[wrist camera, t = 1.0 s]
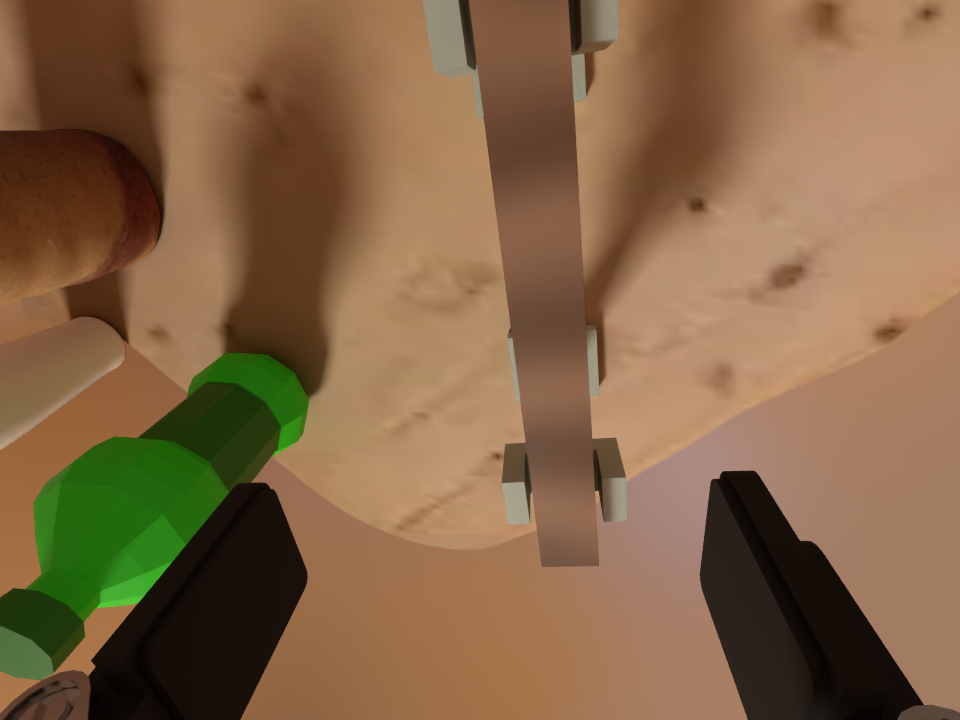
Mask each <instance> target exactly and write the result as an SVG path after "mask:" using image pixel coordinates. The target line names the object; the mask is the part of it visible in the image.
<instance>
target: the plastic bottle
mask: <svg viewBox="0 0 960 720" xmlns="http://www.w3.org/2000/svg"><path fill="white" fill-rule="evenodd" d="M308 403H309V399H308V397H307V395H306V393H305V391H304V390H303V388H302V386H301V384H300V382H299V380H298V378H297V376H296V375H295V373H294V372H293V371H292V370H290V369H289V368H287V367H286V366H284V365H283V364H281V363H279V362H278V361H276V360H275V359H273V358H272V357H270V356H268V355H266V354H252V353H228V354H224V355H222V356H221V357H220V358H218V359H217V360H216V361H215V362H213V363H212V364H211V365H209V366H208V367H207V368H205V369H204V370H203V371H201V372H200V373H199V374H198V375H196V376H195V377H194V378H193V379H192V382H191V384H190V386H189V390H188V396H187V398H186V399H185V400H184V401H182V402H181V403H180V404H179V405H177V406H176V407H175V408H174V409H173V410H171V411H170V412H169V413H168V414H167V415H165V416H164V417H163V418H161V419H160V420H159V421H158V422H156V423H155V424H154V425H153V426H151V427H150V428H149V429H148V430H147V431H145V432H144V433H143V434H142V435H140V436H139V437H138V438H128V437H113V438H111V439H108V440H106V441H104V442H102V443H100V444H98V445H96V446H94V447H92V448H91V449H90V450H88V451H87V452H86V453H84V454H83V455H82V456H80V457H79V458H78V459H76V460H75V461H74V462H72V463H71V464H70V465H68V466H67V467H66V468H65V469H63V470H62V471H61V472H59V473H58V474H57V475H56V476H54V477H53V478H52V479H50V480H49V481H48V482H47V483H46V484H45V485H44V487H43V489H42V490H41V492H40V493H39V495H38V496H37V498H36V500H35V501H34V519H35V535H36V544H37V549H38V556H39V562H40V567H41V573H42V574H41V575H40V576H39V577H38V578H37V579H36V580H35V581H34V582H33V583H31V584H30V585H29V586H28V587H27V588H26V589H15V588H13V589H12V590H10V591H9V592H8V593H6V594H4V595H3V596H1V597H0V671H2V672H4V673H7V674H9V675H11V676H13V677H18V678H26V679H34V680H41V679H43V678H45V677H47V676H49V675H51V674H53V673H54V672H55V671H56V670H57V668H58V667H59V666H60V665H61V664H62V663H63V662H64V661H65V659H66V658H67V657H68V656H69V655H70V654H71V653H72V651H73V650H74V649H75V648H76V647H77V645H78V644H79V643H80V642H81V641H82V639H84V637H85V630H84V621H85V620H86V619H87V618H88V617H89V616H90V614H91V613H92V612H93V611H94V610H95V609H96V608H102V607H113V606H124V605H131V604H137V603H139V602H140V600H141V599H142V598H143V597H144V596H145V594H146V593H147V592H148V591H149V589H150V588H151V587H152V586H153V585H154V583H155V582H156V581H157V580H158V579H159V577H160V576H161V575H162V574H163V572H164V571H165V570H166V569H167V568H168V566H169V565H170V564H171V563H172V562H173V560H174V559H175V558H176V557H177V555H178V554H179V553H180V552H181V551H182V549H183V548H184V547H185V546H186V545H187V543H188V542H189V541H190V540H191V538H192V537H193V536H194V535H195V534H196V532H197V531H198V530H199V529H200V527H201V526H202V525H203V524H204V523H205V521H206V520H207V519H208V518H209V517H210V515H211V514H212V513H213V512H214V510H215V509H216V508H217V507H218V506H219V504H220V503H221V502H222V501H223V500H224V498H225V497H226V496H227V495H228V493H229V492H230V491H231V490H232V489H233V487H235V486H236V485H237V484H239V483H251V482H252V481H253V479H254V478H255V477H256V476H257V474H258V473H259V472H260V470H261V469H262V468H263V466H264V465H265V464H266V463H267V462H268V460H269V459H270V458H271V457H273V456H275V455H276V454H278V453H280V452H281V451H283V450H284V449H286V448H288V447H289V446H291V445H293V444H294V443H296V442H297V441H298V440H299V438H300V437H301V436H302V434H303V431H304V426H305V421H306V416H307V410H308Z"/></svg>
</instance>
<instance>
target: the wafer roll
mask: <svg viewBox="0 0 960 720" xmlns="http://www.w3.org/2000/svg"><path fill="white" fill-rule="evenodd" d="M159 227H160V211H159V207H158V203H157V199H156V196H155V193H154V190H153V188H152V186H151V184H150V182H149V180H148V178H147V176H146V174H145V173H144V171H143V169H142V168H141V166H140V165H139V164H138V162H137V161H136V159H135V158H133V157H132V156H131V155H130V154H129V153H128V151H127V150H126V148H125V147H124V146H123V145H121V144H120V143H119V142H117V141H115V140H113V139H111V138H109V137H106V136H103V135H100V134H97V133H94V132H91V131H87V130H80V129H59V130H49V131H0V305H3V304H6V303H9V302H12V301H15V300H17V299H20V298H26V297H31V296H36V295H41V294H45V293H48V292H51V291H54V290H56V289H60V288H64V287H68V286H72V285H77V284H81V283H85V282H88V281H91V280H94V279H96V278H98V277H101V276H103V275H105V274H108V273H111V272H113V271H116V270H119V269H121V268H123V267H126V266H128V265H130V264H133V263H135V262H138V261H139V260H141V259H142V258H144V257H145V256H147V255H148V254H149V253H150V252H151V251H152V250H153V249H154V248H155V246H156V244H157V241H158V232H159Z"/></svg>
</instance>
